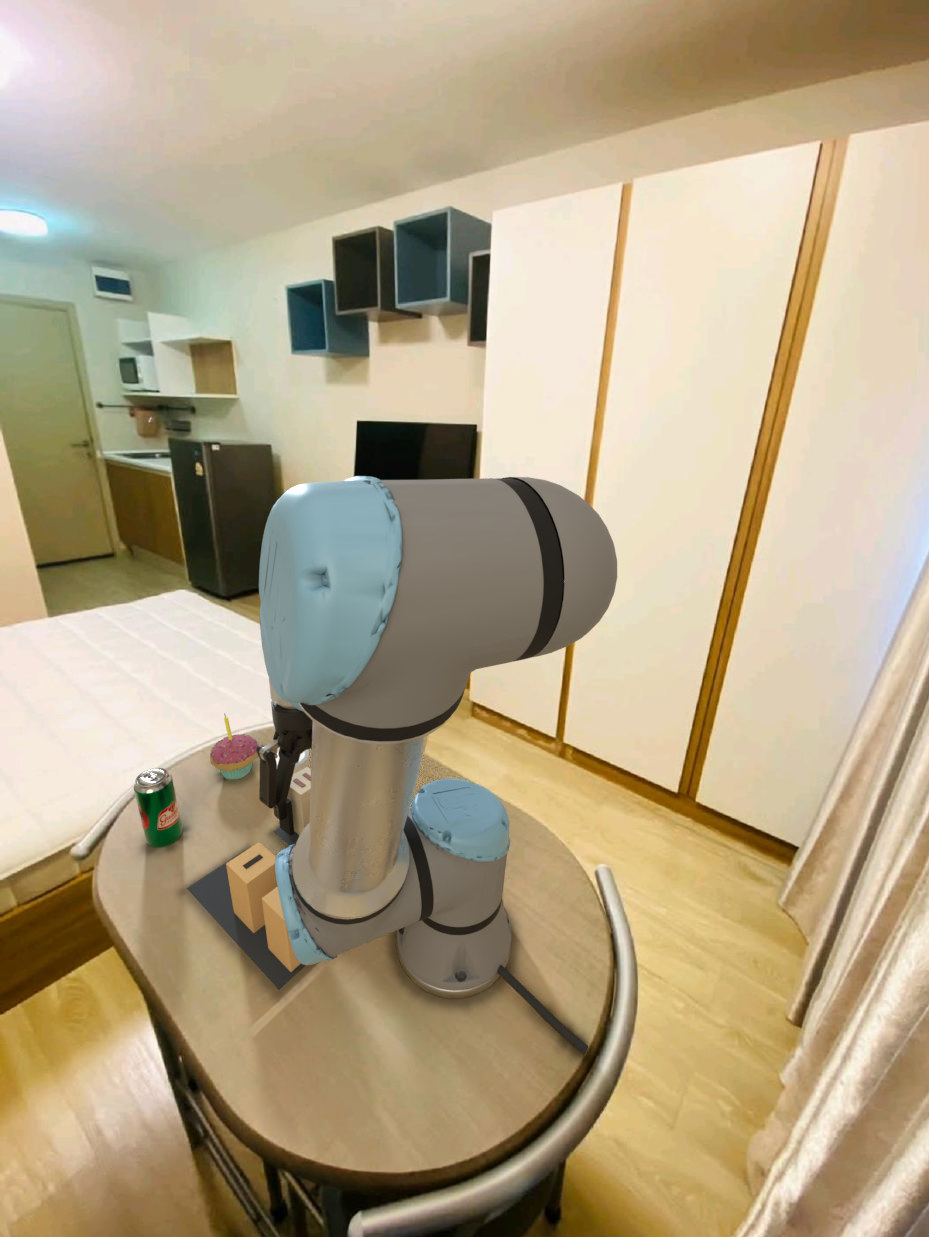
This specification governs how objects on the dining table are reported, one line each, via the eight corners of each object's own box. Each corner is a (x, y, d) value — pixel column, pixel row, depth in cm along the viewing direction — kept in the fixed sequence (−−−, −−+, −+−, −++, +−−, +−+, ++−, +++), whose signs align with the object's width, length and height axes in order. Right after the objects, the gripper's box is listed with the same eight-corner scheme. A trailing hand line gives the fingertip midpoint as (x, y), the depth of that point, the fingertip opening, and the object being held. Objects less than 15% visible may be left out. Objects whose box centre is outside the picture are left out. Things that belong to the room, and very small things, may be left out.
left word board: (338, 937, 69) (335, 884, 65) (279, 991, 62) (272, 937, 58) (245, 851, 81) (238, 803, 77) (187, 889, 74) (176, 839, 70)
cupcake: (204, 773, 97) (194, 718, 92) (246, 752, 103) (239, 699, 99) (229, 794, 92) (220, 737, 88) (271, 770, 99) (265, 716, 94)
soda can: (167, 853, 80) (154, 790, 75) (139, 846, 81) (123, 784, 76) (190, 829, 84) (178, 769, 80) (162, 823, 85) (149, 763, 81)
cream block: (328, 822, 87) (325, 778, 83) (304, 839, 83) (300, 794, 80) (310, 809, 89) (307, 766, 86) (286, 824, 86) (281, 780, 82)
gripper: (334, 665, 86) (339, 776, 95) (219, 714, 71) (238, 841, 80) (365, 680, 82) (368, 795, 91) (250, 736, 67) (266, 867, 76)
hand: (307, 816), depth 86 cm, fingers open, 7 cm apart
